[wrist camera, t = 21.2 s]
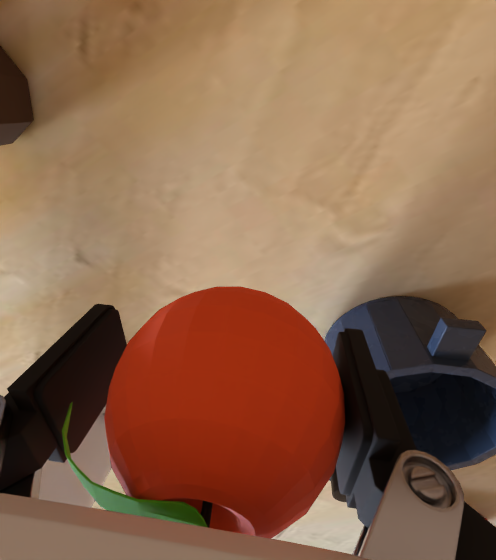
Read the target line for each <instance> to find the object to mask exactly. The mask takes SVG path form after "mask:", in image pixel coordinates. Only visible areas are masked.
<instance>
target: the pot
mask: <svg viewBox="0 0 496 560" xmlns="http://www.w3.org/2000/svg"><path fill="white" fill-rule="evenodd" d="M345 328H350V329H360V330H362V331H363V333H364V336H365V339H366V342H367V344H368V347H369V350H370V353H371V356H372V359H373V362H374V364H375V367H376V369H379V370H384V371H386V373H387V375H388V377H389V379H390V382H391V384H392V387H393V390H394V392H395V395H396V397H397V400H398V402H399V405H400V408H401V410H402V413H403V415H404V418H405V420H406V423H407V426H408V428H409V431H410V433H411V436H412V438H413V441H414V444H415V446H416V449H417V450H418V451H422V452H426V453H428V454H430V455H432V456H434V457H436V458H437V459H438V460H440V461H441V462H442V463H444V464H445V465H446V466H447V467H448V468H449V469H450V470H455V469H459V468H463V467H467V466H471V465H475V464H478V463H480V462H482V461H484V460H486V459H488V458H490V457H492V456H494V455H496V366H495V365H494V363H493V362H492V361H491V360H490V358H489V357H488V356H487V355H486V353H485V352H484V351H483V350H482V348H481V347H480V346H479V345H478V344H479V342H480V341H481V339H482V337H483V336H484V334H485V332H486V329H485V328H484V327H483V326H482V325H481V324H480V323H479V322H478V321H471V320H461V319H457V317H456V316H455V315H454V314H453V313H452V312H450V311H449V310H447V309H446V308H444V307H443V306H441V305H439V304H437V303H434V302H432V301H429V300H426V299H422V298H416V297H407V296H396V297H386V298H380V299H376V300H372V301H369V302H366V303H364V304H361V305H359V306H357V307H355V308H353V309H351V310H350V311H348V312H347V313H345V314H344V315H343V316H341V317H340V318H339V319H338V320H337V321H336V322H335V323H334V324H333V325H332V327H331V328H330V330H329V331H328V333H327V335H326V337H325V343H326V344H327V346H328V347H329V349H330V351H331V354H332V356H333V352H334V348H335V344H336V339H337V335H338V332H343V331H344V329H345Z"/></svg>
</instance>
